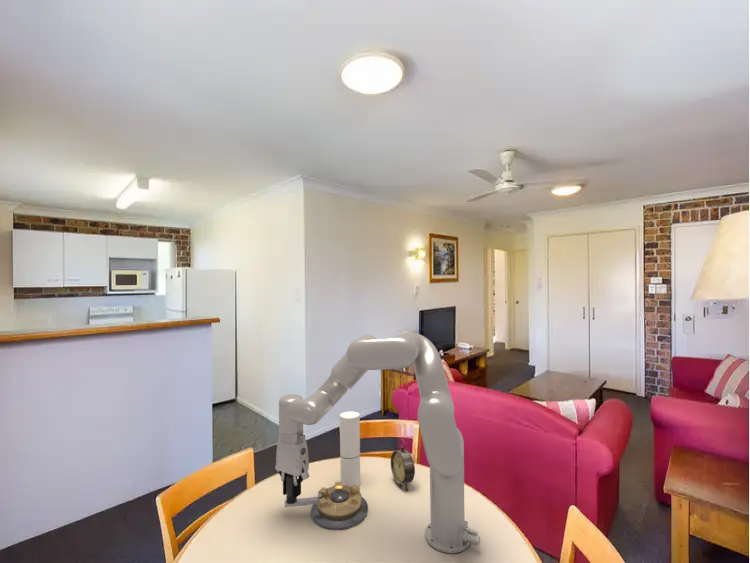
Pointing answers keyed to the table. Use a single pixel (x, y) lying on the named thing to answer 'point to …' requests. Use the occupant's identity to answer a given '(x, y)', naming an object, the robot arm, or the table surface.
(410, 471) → the alarm clock
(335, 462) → the table surface
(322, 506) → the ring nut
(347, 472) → the cylindrical container
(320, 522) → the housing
